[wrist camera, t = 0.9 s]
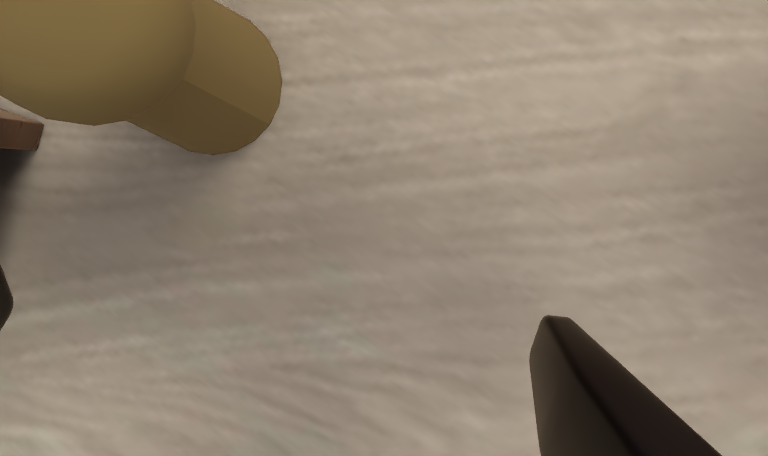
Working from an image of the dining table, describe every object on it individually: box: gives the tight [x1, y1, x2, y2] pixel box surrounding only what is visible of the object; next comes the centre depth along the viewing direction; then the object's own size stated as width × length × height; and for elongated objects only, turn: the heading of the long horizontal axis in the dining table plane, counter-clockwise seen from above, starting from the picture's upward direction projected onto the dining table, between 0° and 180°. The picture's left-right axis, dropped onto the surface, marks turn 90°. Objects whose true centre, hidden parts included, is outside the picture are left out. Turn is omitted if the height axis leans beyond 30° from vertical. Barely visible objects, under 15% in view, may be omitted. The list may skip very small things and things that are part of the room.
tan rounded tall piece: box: [0, 0, 282, 155], centre depth 16 cm, size 6×6×11 cm
